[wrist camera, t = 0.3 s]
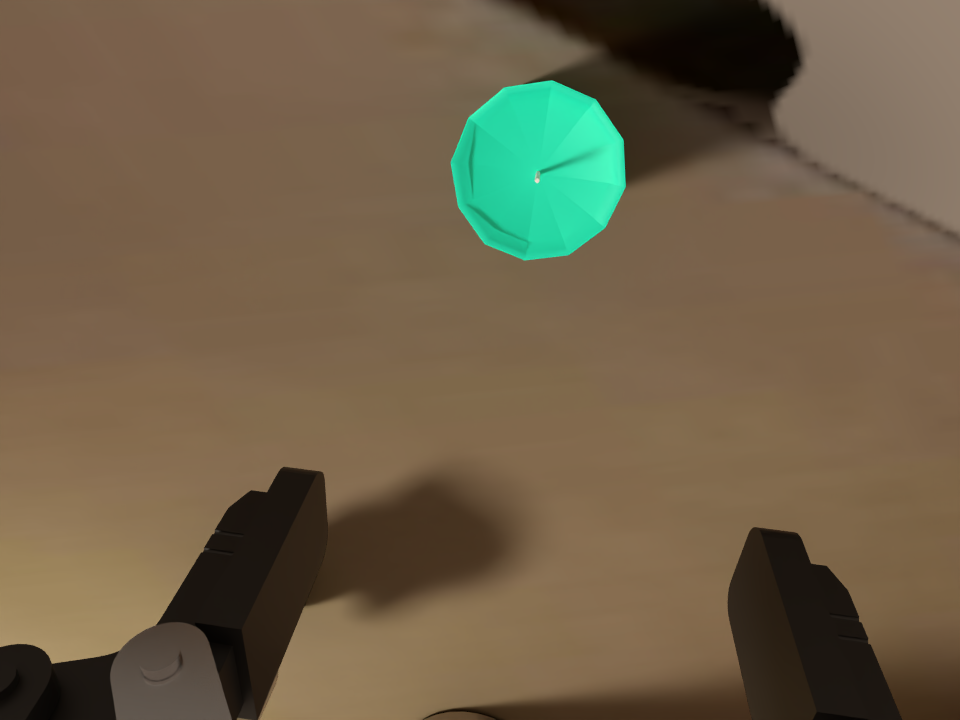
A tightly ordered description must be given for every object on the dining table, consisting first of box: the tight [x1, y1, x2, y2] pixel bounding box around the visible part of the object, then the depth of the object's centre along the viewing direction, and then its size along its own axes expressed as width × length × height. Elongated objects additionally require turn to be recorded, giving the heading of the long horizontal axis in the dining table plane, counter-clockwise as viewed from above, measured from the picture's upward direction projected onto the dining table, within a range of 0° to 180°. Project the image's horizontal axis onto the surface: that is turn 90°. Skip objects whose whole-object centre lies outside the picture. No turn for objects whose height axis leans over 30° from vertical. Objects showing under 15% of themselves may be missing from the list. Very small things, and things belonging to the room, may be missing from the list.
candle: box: [451, 80, 626, 260], centre depth 28 cm, size 6×6×12 cm
